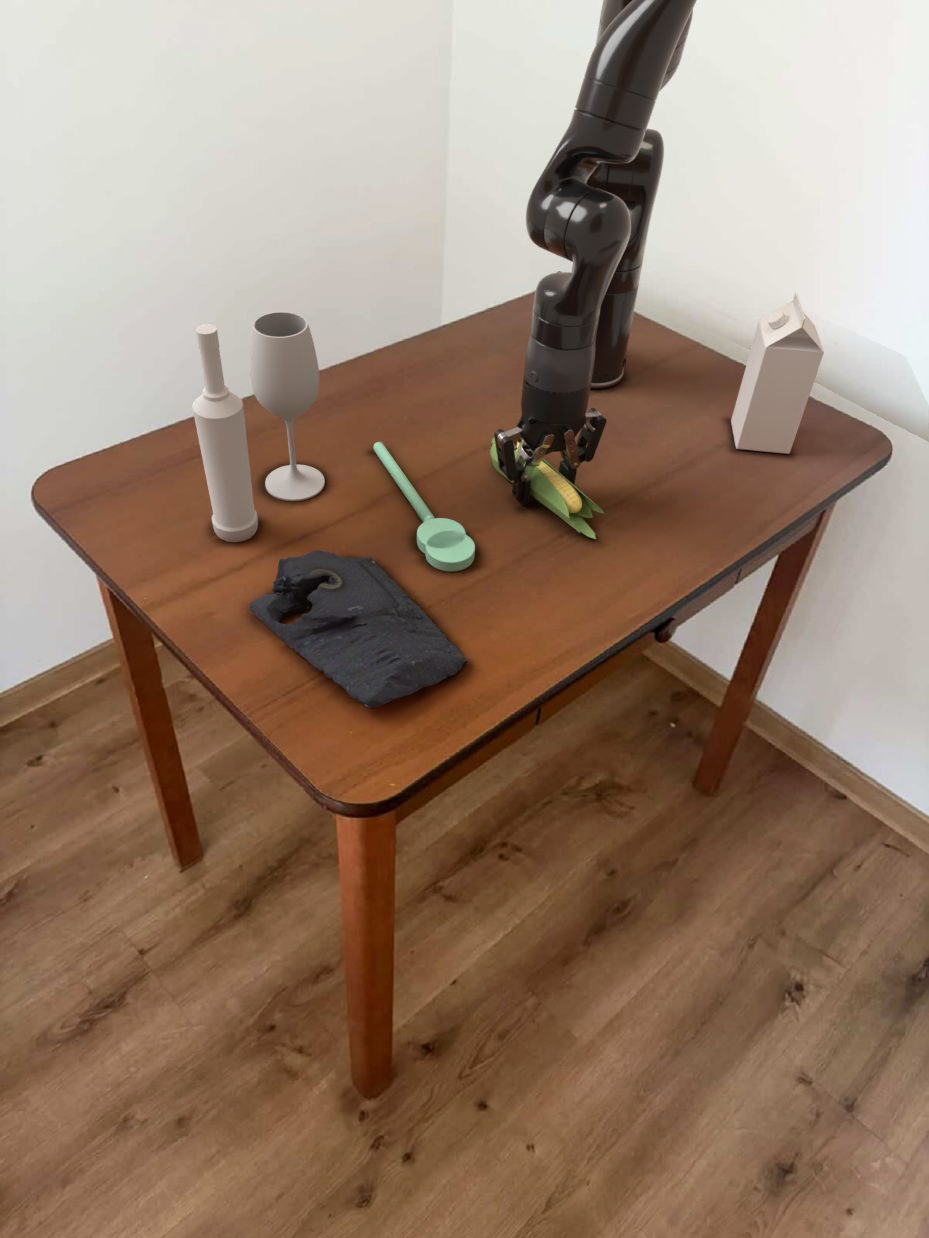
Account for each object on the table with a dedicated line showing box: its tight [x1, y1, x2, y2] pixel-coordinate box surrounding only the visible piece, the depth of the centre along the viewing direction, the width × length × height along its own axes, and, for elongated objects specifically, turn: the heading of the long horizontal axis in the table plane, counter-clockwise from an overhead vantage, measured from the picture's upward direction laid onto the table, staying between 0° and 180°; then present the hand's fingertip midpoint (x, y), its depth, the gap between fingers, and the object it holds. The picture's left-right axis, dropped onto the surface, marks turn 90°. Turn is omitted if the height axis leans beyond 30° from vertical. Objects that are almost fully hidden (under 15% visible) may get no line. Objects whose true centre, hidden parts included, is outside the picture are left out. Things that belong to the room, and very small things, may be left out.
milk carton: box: [730, 292, 825, 455], centre depth 124 cm, size 7×7×19 cm
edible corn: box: [489, 436, 606, 540], centre depth 117 cm, size 5×20×5 cm, turn 35°
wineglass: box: [249, 311, 326, 502], centre depth 111 cm, size 8×8×21 cm
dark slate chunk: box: [249, 549, 469, 709], centre depth 98 cm, size 15×22×5 cm
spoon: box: [373, 441, 476, 572], centre depth 116 cm, size 26×6×1 cm, turn 25°
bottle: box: [191, 323, 259, 543], centre depth 103 cm, size 5×5×25 cm
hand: (542, 495), depth 118 cm, fingers closed on edible corn, 5 cm apart
